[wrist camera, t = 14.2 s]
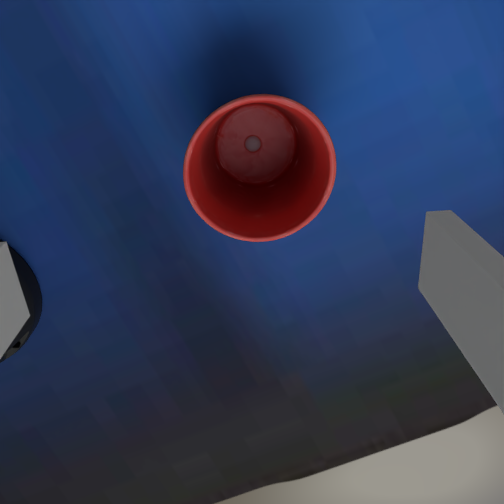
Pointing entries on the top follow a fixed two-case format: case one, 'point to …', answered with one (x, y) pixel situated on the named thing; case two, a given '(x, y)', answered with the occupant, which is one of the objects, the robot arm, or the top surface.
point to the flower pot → (259, 168)
